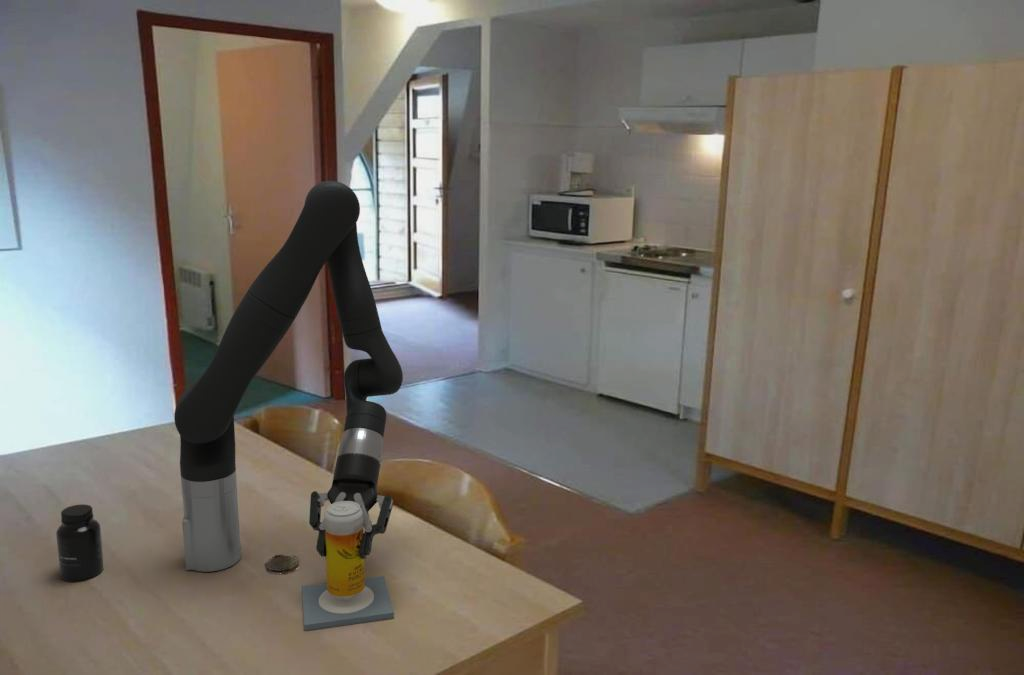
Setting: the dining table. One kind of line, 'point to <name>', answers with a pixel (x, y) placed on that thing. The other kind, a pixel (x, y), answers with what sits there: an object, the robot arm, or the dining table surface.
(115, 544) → the dining table surface
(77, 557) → the supplement bottle
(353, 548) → the beer can
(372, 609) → the board
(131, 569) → the dining table surface
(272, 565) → the decorative disc
